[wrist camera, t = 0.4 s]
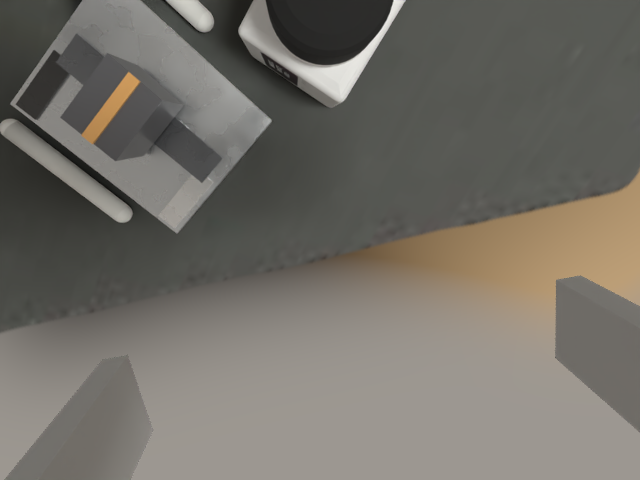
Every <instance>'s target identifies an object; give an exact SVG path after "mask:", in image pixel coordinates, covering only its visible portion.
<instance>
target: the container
mask: <svg viewBox="0 0 640 480" xmlns="http://www.w3.org/2000/svg"><path fill="white" fill-rule="evenodd" d="M404 2H405V0H253V2H252V4H251V6H250V8H249V10H248V11H247V13H246V15H245V17H244V19H243V21H242V23H241V25H240V27H239V30H238V32H239V35H240V37H241V39H242V40H243V42H244V44H245V45H246V47H247V49H248V50H249V52H250V54H251V55H252V56H253V57H254V58H255V59H257V60H258V61H260V62H261V63H263V64H264V65H266V66H267V67H269V68H270V69H272V70H273V71H275V72H276V73H278V74H279V75H281V76H282V77H284V78H285V79H287V80H288V81H290V82H291V83H293V84H294V85H296V86H297V87H299V88H300V89H302V90H303V91H305V92H306V93H307V94H309V95H310V96H312V97H313V98H315V99H316V100H318V101H319V102H321V103H322V104H324V105H325V106H327V107H329V108H332V107H334V106H336V105H338V104H340V103H341V102H343V101H344V100H345V99H346V97H347V96H348V94H349V92H350V91H351V89H352V87H353V86H354V84H355V82H356V81H357V79H358V77H359V76H360V74H361V73H362V71H363V69H364V68H365V66H366V64H367V63H368V61H369V59H370V58H371V56H372V54H373V53H374V51H375V50H376V48H377V46H378V45H379V43H380V41H381V40H382V38H383V36H384V35H385V33H386V31H387V30H388V28H389V27H390V25H391V23H392V22H393V20H394V18H395V17H396V15H397V13H398V12H399V10H400V8H401V7H402V5H403V4H404Z"/></svg>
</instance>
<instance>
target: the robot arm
mask: <svg viewBox="0 0 640 480" xmlns="http://www.w3.org/2000/svg"><path fill="white" fill-rule="evenodd" d="M555 349H556V350H555V355H556V356H555V358H556V359H557V360H558V361H559V362H561V363H562V364H563V365H564V366H565V367H566V368H567V369H568V370H570V371H571V372H572V373H573V374H574V375H575V376H576V377H577V378H579V379H580V380H581V381H582V382H583V383H584V384H586V385H587V386H588V387H589V388H590V389H591V390H592V391H593V392H595V393H596V394H597V395H598V396H599V397H600V398H601V399H602V400H604V401H605V402H606V403H607V404H608V405H609V406H610V407H612V408H613V409H614V410H615V411H616V412H617V413H619V415H621V416H622V417H623V418H624V419H625V420H626V421H627V422H629V423H630V424H631V425H632V426H633V427H634V428H635V429H637V430H638V431H639V432H640V306H638V305H636V304H634V303H632V302H631V301H628V300H627V299H625V298H623V297H621V296H619V295H617V294H615V293H613V292H611V291H609V290H607V289H605V288H604V287H602V286H600V285H598V284H596V283H594V282H592V281H590V280H588V279H586V278H584V277H582V276H575V277H570V278H564V279H559V280H556V348H555ZM152 432H153V428H152V426H151V422H150V420H149V416H148V414H147V410H146V407H145V405H144V402H143V399H142V396H141V393H140V390H139V387H138V384H137V381H136V378H135V375H134V372H133V369H132V366H131V363H130V360H129V357H128V355H126V356H121V357H114V358H109V359H103V360H102V361H101V362H100V363H99V364H98V366H97V367H96V368H95V369H94V370H93V372H92V373H91V374H90V375H89V377H88V378H87V379H86V380H85V381H84V383H83V384H82V385H81V386H80V388H79V389H78V390H77V392H76V393H75V394H74V395H73V396H72V398H71V399H70V400H69V401H68V402H67V404H66V405H65V406H64V407H63V409H62V410H61V411H60V412H59V413H58V415H57V416H56V417H55V418H54V419H53V421H52V422H51V423H50V424H49V426H48V427H47V428H46V429H45V431H44V432H43V433H42V434H41V435H40V437H39V438H38V439H37V440H36V442H35V443H34V444H33V445H32V446H31V448H30V449H29V450H28V451H27V453H26V454H25V455H24V456H23V458H22V459H21V460H20V461H19V462H18V464H17V465H16V466H15V467H14V469H13V470H12V471H11V472H10V473H9V475H8V476H7V477H6V479H5V480H131V478H132V475H133V473H134V471H135V469H136V467H137V464H138V462H139V460H140V458H141V456H142V454H143V451H144V449H145V447H146V445H147V443H148V440H149V438H150V436H151V434H152Z"/></svg>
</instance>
